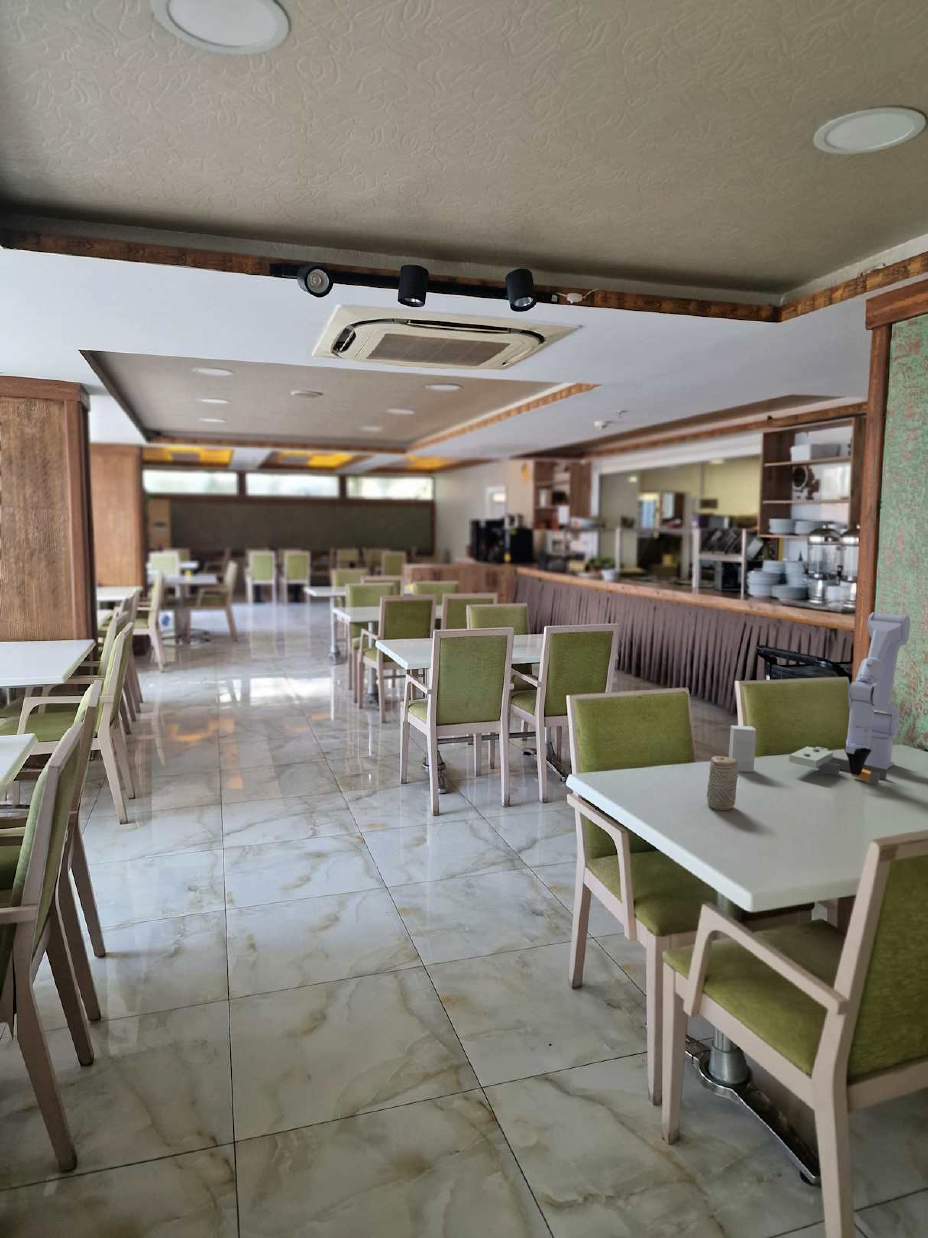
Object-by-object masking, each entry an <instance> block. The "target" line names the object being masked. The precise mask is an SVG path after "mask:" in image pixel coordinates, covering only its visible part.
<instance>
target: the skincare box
mask: <svg viewBox="0 0 928 1238" xmlns="http://www.w3.org/2000/svg"><path fill="white" fill-rule="evenodd" d="M756 741H757V729H756V728H754V727H753V726H747V725H730V734H729V749H728V757H730V758H734V759H736V761H737V763H738V772H746V773H753V772H754V767H755V757H756V756H755V754H756Z"/></svg>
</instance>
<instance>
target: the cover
mask: <svg viewBox="0 0 928 1238" xmlns="http://www.w3.org/2000/svg"><path fill="white" fill-rule="evenodd" d="M833 755H834V752H833V751H830V750H829V748H825V747H819V746H816V747H812V746H805V747H804V748H801V749H798V750H797V751H795V752H793V753H790V754H789V758H788V762H789V763H793V764H795V765H800V766H806V767H808V768H814V769H816V768H818V769H819V766H820V765H822V764H824V763H826V762H828V761H830V760H831V759H832V758H833V757H834V756H833Z"/></svg>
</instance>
